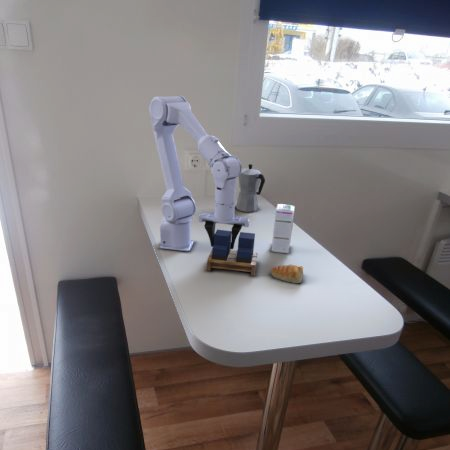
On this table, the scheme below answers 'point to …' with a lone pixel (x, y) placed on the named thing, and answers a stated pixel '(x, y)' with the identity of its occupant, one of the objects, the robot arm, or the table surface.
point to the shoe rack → (230, 261)
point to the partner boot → (245, 247)
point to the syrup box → (283, 228)
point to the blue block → (221, 245)
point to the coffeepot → (249, 189)
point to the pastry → (288, 273)
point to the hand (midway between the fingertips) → (222, 246)
